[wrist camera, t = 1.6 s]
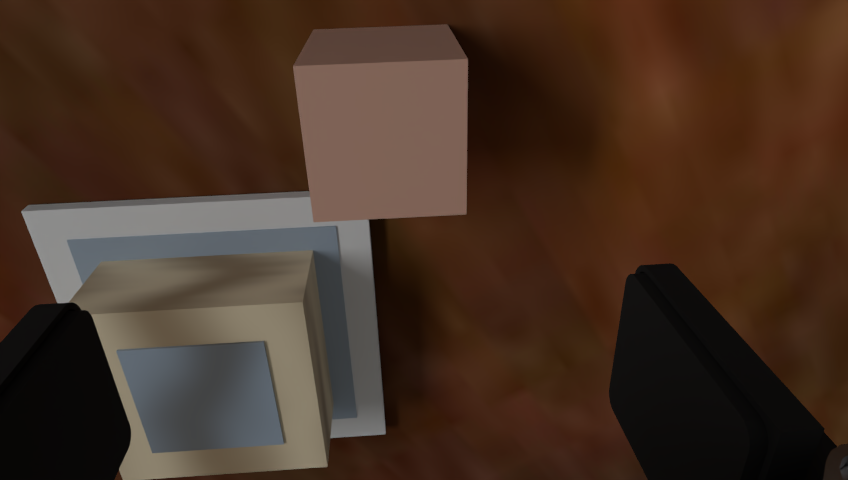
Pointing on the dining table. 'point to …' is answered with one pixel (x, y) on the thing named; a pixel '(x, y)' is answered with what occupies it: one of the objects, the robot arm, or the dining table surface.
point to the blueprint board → (225, 235)
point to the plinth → (215, 361)
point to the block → (384, 122)
